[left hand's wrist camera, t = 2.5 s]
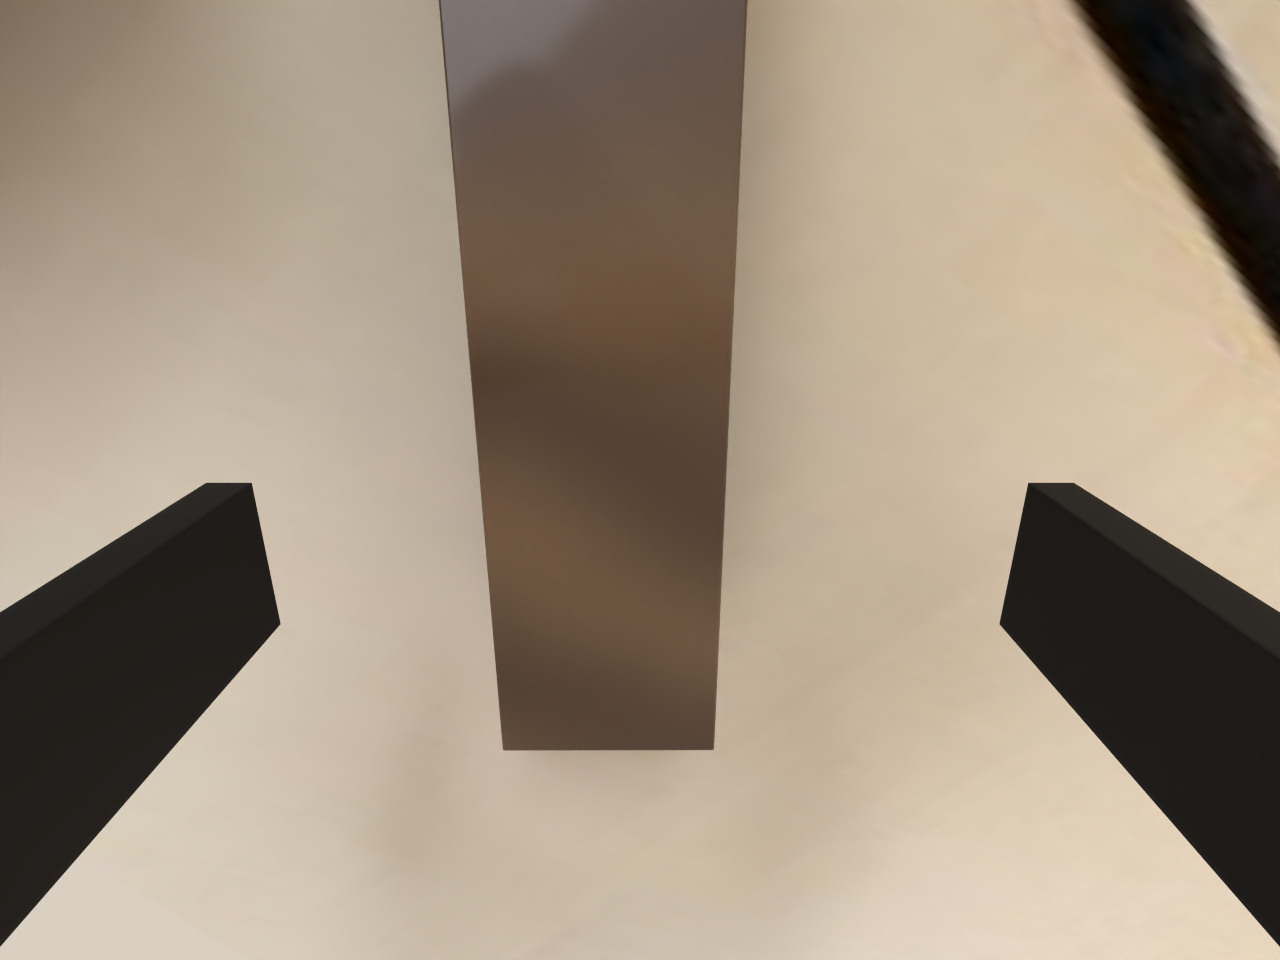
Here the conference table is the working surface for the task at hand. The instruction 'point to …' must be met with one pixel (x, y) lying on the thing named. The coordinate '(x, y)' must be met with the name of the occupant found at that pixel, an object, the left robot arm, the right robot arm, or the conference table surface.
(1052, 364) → the conference table surface
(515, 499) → the beam
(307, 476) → the conference table surface
